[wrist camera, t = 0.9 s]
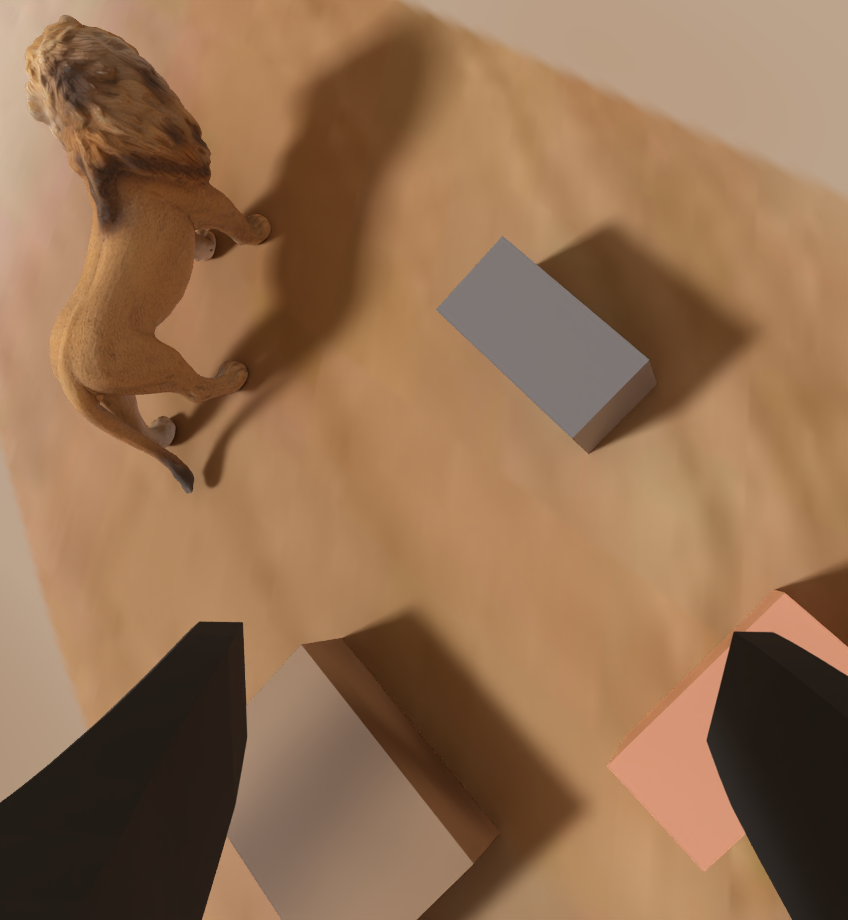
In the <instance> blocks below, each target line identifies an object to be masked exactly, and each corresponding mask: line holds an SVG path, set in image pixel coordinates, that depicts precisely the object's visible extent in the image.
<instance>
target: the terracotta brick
mask: <svg viewBox="0 0 848 920" xmlns="http://www.w3.org/2000/svg"><path fill="white" fill-rule="evenodd" d="M734 631H743V632H774V633H776V634H778V635H780V636H782V637H784V638H786V639H788V640H789V641H791V642H793V643H795V644H797V645H798V646H800V647H802V648H803V649H805V650H807V651H808V652H810V653H812V654H813V655H815V656H817V657H818V658H820V659H821V660H823V661H825V662H826V663H828V664H830V665H831V666H833V667H834V668H836V669H838V670H839V671H841V672H842V673H844V674H846V675H847V676H848V647H847V646H846V645H845V644H844V643H843V642H841V641H840V640H839V639H838V638H837V637H836V636H834V635H833V634H832V633H831V632H830V631H829V630H827V629H826V628H825V627H824V626H823V625H822V624H821V623H819V622H818V621H817V620H816V619H815V618H814V617H812V616H811V615H810V614H809V613H808V612H807V611H805V610H804V609H803V608H802V607H801V606H800V605H799V604H797V603H796V602H795V601H794V600H793V599H792V598H790V597H789V596H788V595H787V594H786V593H784V592H781V591H777V590H774V591H773V592H772V593H770V594H769V595H768V596H767V597H766V598H765V599H764V600H763V601H762V602H761V603H760V604H759V605H758V606H757V607H756V608H755V609H754V610H753V611H752V612H751V613H750V614H749V615H748V616H747V617H746V618H745V619H744V620H743V621H742V622H741V623H740V624H739V625H738V626H737V627H736V628H735V629H734V630H733V631H732V632H731V633H730V634H729V635H728V636H727V637H725V638H724V639H723V640H722V641H721V642H720V643H719V644H718V645H717V646H716V647H715V648H714V649H713V650H712V651H711V652H710V653H709V654H708V655H707V656H706V657H705V658H704V659H703V660H702V661H701V662H700V663H699V664H698V665H697V666H696V667H695V668H694V669H693V670H692V671H691V672H690V673H689V674H688V675H687V676H686V677H685V678H684V679H683V680H681V681H680V682H679V683H678V684H677V685H676V686H675V687H674V688H673V689H672V690H671V691H670V692H669V693H668V694H667V695H666V696H665V697H664V698H663V699H662V700H661V701H660V702H659V703H658V704H657V705H656V706H655V707H654V708H653V709H652V710H651V711H650V712H649V713H648V714H647V715H646V716H645V717H644V718H643V719H642V720H641V721H640V722H639V723H638V724H636V725H635V726H634V727H633V728H632V729H631V730H630V731H629V732H628V733H627V734H626V736H625V737H624V739H623V741H622V742H621V744H620V745H619V747H618V749H617V750H616V752H615V754H614V755H613V757H612V758H611V760H610V762H609V763H608V765H607V767H608V768H609V769H610V770H611V771H612V772H613V773H614V775H615V776H616V777H617V778H618V779H619V780H620V781H621V782H622V783H623V784H624V785H625V787H626V788H627V789H628V790H629V791H630V792H631V793H632V794H633V795H634V796H635V797H636V799H637V800H638V801H639V802H640V803H641V804H642V805H643V806H644V807H645V808H646V809H647V810H648V812H649V813H650V814H651V815H652V816H653V817H654V818H655V819H656V820H657V821H658V822H659V824H660V825H661V826H662V827H663V828H664V829H665V830H666V831H667V832H668V833H669V834H670V835H671V837H672V838H673V839H674V840H675V841H676V842H677V843H678V844H679V845H680V846H681V847H682V849H683V850H684V851H685V852H686V853H687V854H688V855H689V856H690V857H691V858H692V859H693V861H694V862H695V863H696V864H697V865H698V866H699V867H700V868H701V869H702V870H703V871H706V870H707V869H708V868H709V867H710V866H711V865H712V864H713V863H714V862H715V861H717V860H718V859H719V858H720V857H721V856H722V855H723V854H724V853H725V852H726V851H727V850H729V849H730V848H731V847H732V846H733V845H734V844H735V843H736V842H737V841H738V840H739V839H741V838H742V837H743V836H744V835H745V834H746V833H745V831H744V830H743V828H742V826H741V824H740V822H739V820H738V818H737V816H736V814H735V812H734V810H733V808H732V806H731V804H730V802H729V799H728V797H727V794H726V792H725V789H724V787H723V784H722V782H721V779H720V777H719V774H718V771H717V769H716V766H715V763H714V760H713V758H712V755H711V752H710V749H709V747H708V744H707V741H706V740H707V736H708V732H709V728H710V724H711V720H712V716H713V712H714V708H715V704H716V700H717V696H718V692H719V688H720V684H721V680H722V676H723V672H724V668H725V664H726V660H727V656H728V652H729V648H730V644H731V640H732V636H733V632H734Z"/></svg>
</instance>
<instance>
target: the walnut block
mask: <svg viewBox="0 0 848 920" xmlns="http://www.w3.org/2000/svg"><path fill="white" fill-rule="evenodd" d="M246 713H247V743H246V749H245V754H244V760H243V766H242V772H241V778H240V783H239V789H238V794H237V800H236V805H235V809H234V812H233V816H232V819H231V823H230V826H229V830H228V833H227V837H228V838H229V840H230V841H231V843H232V845H233V846H234V848H235V849H236V851H237V852H238V854H239V855H240V857H241V858H242V860H243V861H244V863H245V864H246V866H247V868H248V869H249V871H250V872H251V874H252V875H253V877H254V878H255V880H256V881H257V883H258V884H259V886H260V887H261V889H262V891H263V892H264V894H265V895H266V897H267V898H268V900H269V901H270V903H271V904H272V906H273V907H274V909H275V910H276V912H277V914H278V915H279V917H280V918H281V920H417V919H418V918H419V917H420V916H421V915H422V914H423V913H424V912H425V911H426V910H427V909H428V908H429V907H430V906H431V905H432V904H433V903H434V902H435V901H436V900H437V899H438V898H439V897H440V896H441V895H442V894H443V893H444V892H445V891H446V890H447V889H448V888H449V887H450V886H451V885H452V884H453V883H454V882H456V881H457V880H458V879H459V878H460V877H461V876H462V875H463V874H464V873H465V872H466V871H467V870H468V869H469V868H470V867H471V866H472V865H473V864H474V863H475V862H476V860H477V859H478V858H479V857H480V856H481V855H482V853H483V852H484V851H485V850H486V849H487V848H488V846H489V845H490V844H491V843H492V842H493V841H494V839H495V838H496V837H497V836H498V835H499V834H500V831H499V830H498V829H497V828H496V827H495V825H494V824H493V823H492V822H491V820H490V819H489V818H488V817H487V816H486V814H485V813H484V812H483V811H482V809H481V808H480V807H479V806H478V805H477V803H476V802H475V801H474V800H473V798H472V797H471V796H470V795H469V793H468V792H467V791H466V790H465V789H464V787H463V786H462V785H461V784H460V782H459V781H458V780H457V779H456V778H455V776H454V775H453V774H452V773H451V771H450V770H449V769H448V768H447V767H446V765H445V764H444V763H443V762H442V760H441V759H440V758H439V757H438V755H437V754H436V753H435V752H434V751H433V749H432V748H431V747H430V746H429V744H428V743H427V742H426V741H425V740H424V738H423V737H422V736H421V735H420V733H419V732H418V731H417V730H416V729H415V727H414V726H413V725H412V724H411V722H410V721H409V720H408V719H407V717H406V716H405V715H404V714H403V713H402V711H401V710H400V709H399V708H398V706H397V705H396V704H395V703H394V702H393V700H392V699H391V698H390V697H389V695H388V694H387V693H386V692H385V691H384V689H383V688H382V687H381V686H380V684H379V683H378V682H377V681H376V680H375V678H374V677H373V676H372V675H371V673H370V672H369V671H368V670H367V668H366V667H365V666H364V665H363V664H362V662H361V661H360V660H359V659H358V657H357V656H356V655H355V654H354V653H353V651H352V650H351V649H350V648H349V646H348V645H347V644H346V643H345V642H344V640H343V639H342V638H339V639H333V640H327V641H321V642H314V643H308V644H302V645H301V646H300V647H299V648H298V649H297V650H296V651H295V652H294V653H293V654H292V655H291V657H290V658H289V659H288V660H287V661H286V662H285V663H284V664H283V665H282V667H281V668H280V669H279V670H278V671H277V672H276V673H275V674H274V675H273V677H272V678H271V679H270V680H269V681H268V682H267V683H266V684H265V685H264V687H263V688H262V689H261V690H260V691H259V692H258V693H257V694H256V695H255V696H254V698H253V699H252V700H251V701H250V702H249V703H248V704H247V705H246Z"/></svg>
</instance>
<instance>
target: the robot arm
mask: <svg viewBox="0 0 848 920" xmlns="http://www.w3.org/2000/svg"><path fill="white" fill-rule="evenodd" d="M706 741H707V744H708V747H709V749H710V752H711V755H712V758H713V760H714V763H715V766H716V769H717V771H718V774H719V777H720V779H721V782H722V784H723V787H724V789H725V792H726V794H727V797H728V799H729V802H730V804H731V806H732V808H733V810H734V812H735V814H736V816H737V818H738V820H739V822H740V824H741V826H742V828H743V830H744V831H745V833H746V835H747V837H748V839H749V841H750V843H751V845H752V846H753V848H754V850H755V852H756V854H757V856H758V858H759V860H760V861H761V863H762V865H763V867H764V869H765V871H766V872H767V874H768V876H769V878H770V880H771V882H772V883H773V885H774V887H775V889H776V891H777V893H778V895H779V896H780V898H781V900H782V902H783V904H784V906H785V907H786V909H787V911H788V913H789V915H790V917H791V918H792V920H848V676H847V675H846V674H844V673H842V672H841V671H839V670H838V669H836V668H834V667H833V666H831V665H830V664H828V663H826V662H825V661H823V660H821V659H820V658H818V657H817V656H815V655H813V654H812V653H810V652H808V651H807V650H805V649H803V648H802V647H800V646H798V645H797V644H795V643H793V642H791V641H789V640H788V639H786V638H784V637H782V636H780V635H778V634H776V633H774V632H743V631H734V632H733V636H732V640H731V644H730V648H729V652H728V656H727V660H726V664H725V668H724V672H723V676H722V680H721V684H720V688H719V692H718V696H717V700H716V704H715V708H714V712H713V716H712V720H711V724H710V728H709V732H708V736H707V740H706ZM246 743H247V713H246V688H245V663H244V638H243V622H199V623H197V624H196V625H195V626H194V627H193V628H192V629H191V630H190V631H189V632H188V633H187V634H186V635H185V636H184V637H183V638H182V639H181V640H180V641H179V642H178V643H177V644H176V645H175V646H174V647H173V648H172V649H171V650H170V651H169V652H168V653H167V654H166V655H165V656H164V657H163V658H162V659H161V660H160V662H159V663H158V664H157V665H156V666H155V667H154V668H153V669H152V670H151V671H150V672H149V673H148V674H147V675H146V676H145V677H144V678H143V679H142V680H141V681H140V682H139V683H138V684H137V685H136V686H135V687H133V688H132V689H131V690H130V691H129V692H128V693H127V694H126V695H125V696H124V697H123V698H122V699H121V700H120V701H119V702H118V703H117V704H116V705H115V706H114V707H113V708H112V709H111V710H110V711H108V712H107V713H106V714H105V715H104V716H103V717H102V718H101V719H100V720H99V721H98V722H97V723H96V724H95V725H93V726H92V727H91V728H90V729H89V730H88V731H87V732H85V733H84V734H83V735H82V736H81V737H80V738H79V739H77V740H76V741H75V742H74V743H73V744H72V745H70V746H69V747H68V748H67V749H66V750H65V751H64V752H62V753H61V754H60V755H59V756H58V757H57V758H56V759H54V760H53V761H52V762H51V763H50V764H49V765H47V766H46V767H45V768H44V769H43V770H41V771H40V772H39V773H38V774H37V775H35V776H34V777H33V778H32V779H30V780H29V781H28V782H27V783H25V784H24V785H23V786H22V787H20V788H19V789H18V790H16V791H15V792H14V793H13V794H11V795H10V796H9V797H7V798H6V799H4V800H3V801H2V802H1V803H0V920H202V917H203V914H204V911H205V907H206V904H207V901H208V897H209V894H210V891H211V887H212V884H213V880H214V877H215V874H216V870H217V867H218V864H219V860H220V857H221V853H222V850H223V847H224V843H225V840H226V836H227V833H228V830H229V826H230V823H231V819H232V816H233V812H234V809H235V805H236V800H237V794H238V789H239V783H240V778H241V772H242V766H243V760H244V754H245V749H246Z"/></svg>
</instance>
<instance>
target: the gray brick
mask: <svg viewBox="0 0 848 920" xmlns="http://www.w3.org/2000/svg"><path fill="white" fill-rule="evenodd" d="M436 310H437V311H438V312H439V313H440V314H441V315H442V316H443V317H444V318H445V319H446V320H447V321H448V322H449V323H450V324H452V325H453V326H454V327H455V328H456V329H457V330H458V331H459V332H460V333H461V334H462V335H463V336H464V337H465V338H466V339H467V340H468V341H470V342H471V343H472V344H473V345H474V346H475V347H476V348H477V349H478V350H479V351H480V352H481V353H482V354H483V355H484V356H485V357H486V358H488V359H489V360H490V361H491V362H492V363H493V364H494V365H495V366H496V367H497V368H498V369H499V370H500V371H501V372H502V373H503V374H504V375H505V376H507V377H508V378H509V379H510V380H511V381H512V382H513V383H514V384H515V385H516V386H517V387H518V388H519V389H520V390H521V391H522V392H523V393H525V394H526V395H527V396H528V397H529V398H530V399H531V400H532V401H533V402H534V403H535V404H536V405H537V406H538V407H539V408H540V409H541V410H543V411H544V412H545V413H546V414H547V415H548V416H549V417H550V418H551V419H552V420H553V421H554V422H555V423H556V424H557V425H558V426H559V427H560V428H562V429H563V430H564V431H565V432H566V433H567V434H568V435H569V436H570V437H571V438H572V439H573V440H574V441H575V442H576V443H577V444H579V445H580V446H581V447H582V448H583V449H584V450H585V451H586V452H587V453H588V454H589V453H590V452H591V451H592V450H593V449H594V448H595V447H596V446H597V445H598V444H599V443H600V442H601V441H602V440H603V439H604V438H605V437H606V436H607V435H608V434H609V433H610V432H611V431H612V430H613V429H614V428H615V427H616V426H617V425H618V424H619V423H620V422H621V421H622V420H623V419H624V418H625V417H626V416H627V415H628V413H629V412H630V411H631V410H632V409H633V408H634V407H635V406H636V405H637V404H638V403H639V402H640V401H641V400H642V399H643V398H644V397H645V396H646V395H647V394H648V393H649V392H650V391H651V390H652V389H653V388H654V387H655V386H656V385H657V382H656V378H655V375H654V372H653V369H652V366H651V363H650V360H649V359H648V358H647V357H646V356H644V355H643V354H642V353H641V352H640V351H638V350H637V349H636V348H635V347H634V346H632V345H631V344H630V343H629V342H628V341H627V340H625V339H624V338H623V337H622V336H621V335H619V334H618V333H617V332H616V331H615V330H614V329H612V328H611V327H610V326H609V325H608V324H606V323H605V322H604V321H603V320H602V319H600V318H599V317H598V316H597V315H596V314H595V313H593V312H592V311H591V310H590V309H589V308H587V307H586V306H585V305H584V304H583V303H582V302H580V301H579V300H578V299H577V298H576V297H574V296H573V295H572V294H571V293H570V292H568V291H567V290H566V289H565V288H564V287H563V286H561V285H560V284H559V283H558V282H557V281H555V280H554V279H553V278H552V277H551V276H549V275H548V274H547V273H546V272H545V271H544V270H542V269H541V268H540V267H539V266H538V265H536V264H535V263H534V262H533V261H532V260H531V259H529V258H528V257H527V256H526V255H525V254H523V253H522V252H521V251H520V250H519V249H517V248H516V247H515V246H514V245H513V244H512V243H510V242H509V241H508V240H507V239H506V238H504V237H503V236H502V237H501V238H500V240H499V241H498V242H497V243H496V244H495V245H494V246H493V247H492V248H491V249H490V251H489V252H488V253H487V254H486V255H485V256H484V257H483V258H482V259H481V260H480V262H479V263H478V264H477V265H476V266H475V267H474V268H473V269H472V270H471V272H470V273H469V274H468V275H467V276H466V277H465V278H464V279H463V280H462V281H461V283H460V284H459V285H458V286H457V287H456V288H455V289H454V290H453V291H452V292H451V294H450V295H449V296H448V297H447V298H446V299H445V300H444V301H443V302H442V304H441V305H440V306H439V307H438V308H437V309H436Z"/></svg>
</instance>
